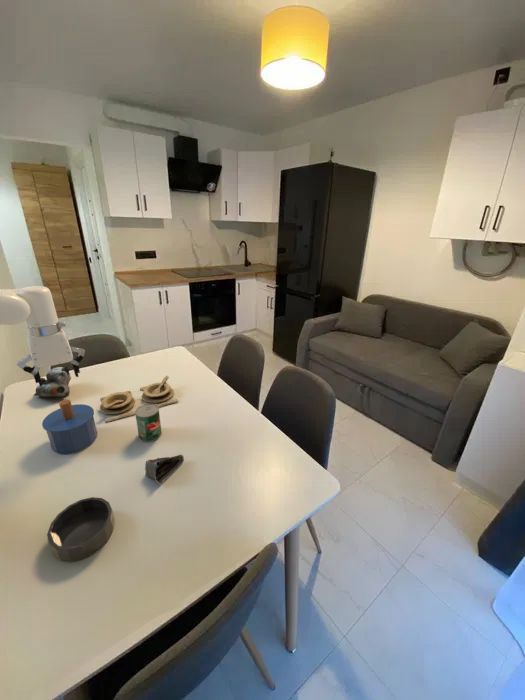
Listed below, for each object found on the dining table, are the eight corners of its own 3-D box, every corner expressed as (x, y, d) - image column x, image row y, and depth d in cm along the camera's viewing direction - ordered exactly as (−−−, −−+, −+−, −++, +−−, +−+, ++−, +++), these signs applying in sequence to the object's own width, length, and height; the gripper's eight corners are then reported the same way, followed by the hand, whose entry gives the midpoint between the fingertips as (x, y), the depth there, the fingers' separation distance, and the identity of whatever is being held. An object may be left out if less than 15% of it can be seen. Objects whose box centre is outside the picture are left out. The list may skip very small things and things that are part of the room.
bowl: (44, 570, 65) (39, 557, 63) (61, 516, 76) (57, 504, 74) (110, 551, 69) (107, 539, 67) (117, 503, 80) (114, 492, 79)
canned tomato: (158, 442, 103) (155, 416, 99) (135, 442, 103) (131, 416, 98) (164, 427, 110) (161, 403, 106) (142, 427, 110) (139, 403, 105)
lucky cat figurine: (30, 394, 126) (36, 363, 127) (63, 395, 135) (68, 365, 136) (38, 399, 116) (44, 364, 117) (72, 399, 125) (78, 367, 126)
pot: (46, 457, 94) (38, 434, 90) (58, 431, 106) (52, 409, 102) (93, 449, 98) (87, 427, 95) (100, 425, 110) (95, 404, 106)
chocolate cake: (170, 452, 99) (142, 446, 90) (185, 455, 96) (158, 449, 86) (161, 483, 95) (132, 479, 86) (177, 486, 92) (148, 483, 83)
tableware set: (166, 382, 141) (165, 371, 138) (180, 402, 126) (179, 390, 124) (97, 399, 125) (95, 387, 123) (104, 424, 110) (101, 411, 108)
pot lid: (36, 437, 90) (29, 419, 87) (51, 410, 103) (45, 393, 100) (89, 429, 95) (85, 411, 92) (97, 404, 107) (94, 387, 104)
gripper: (76, 320, 93) (87, 367, 100) (7, 330, 83) (24, 382, 90) (80, 327, 88) (92, 376, 95) (7, 339, 78) (25, 393, 85)
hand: (59, 379), depth 92 cm, fingers open, 9 cm apart
